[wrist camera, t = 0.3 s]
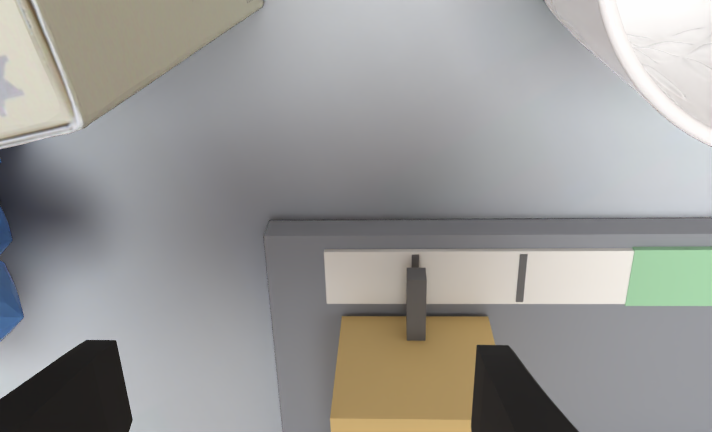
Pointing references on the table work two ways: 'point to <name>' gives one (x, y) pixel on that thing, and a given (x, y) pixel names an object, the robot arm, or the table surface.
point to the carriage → (407, 368)
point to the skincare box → (94, 56)
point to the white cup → (652, 52)
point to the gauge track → (512, 307)
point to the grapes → (7, 286)
